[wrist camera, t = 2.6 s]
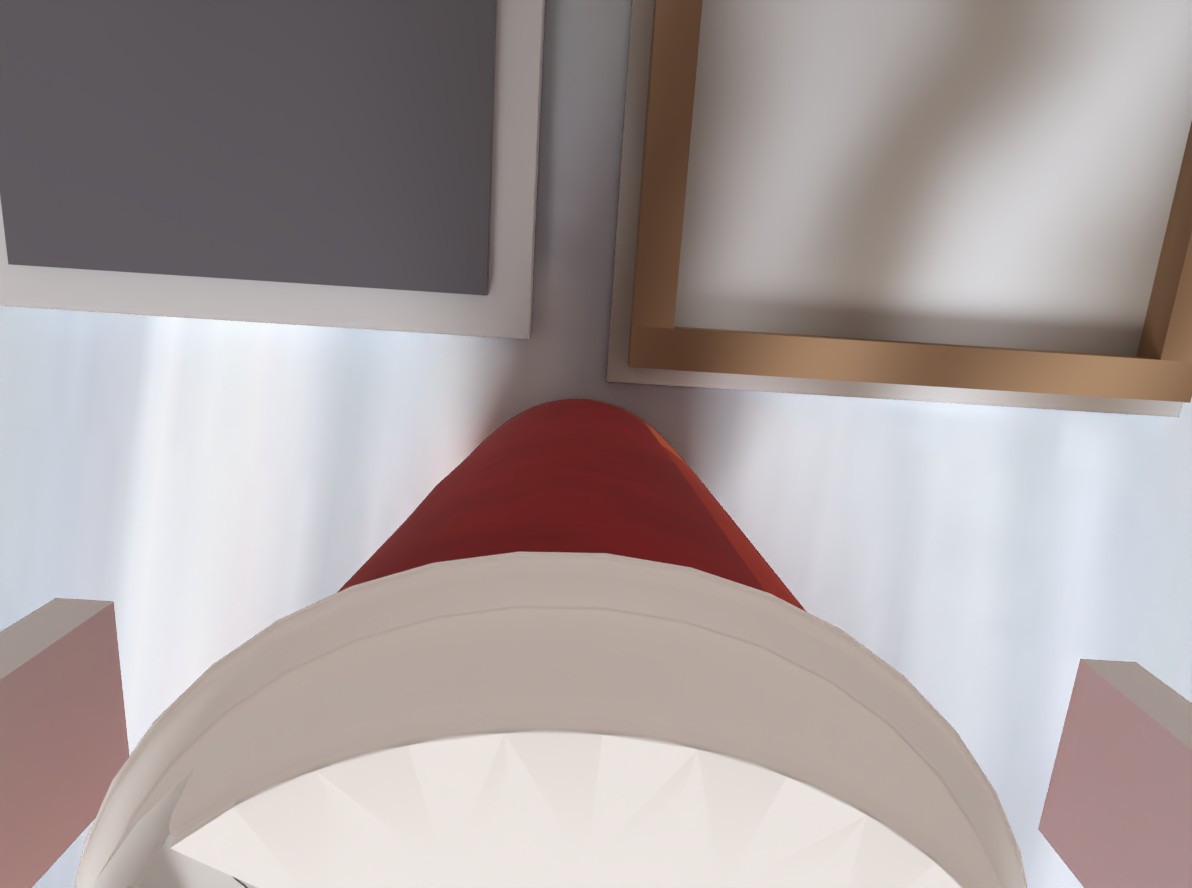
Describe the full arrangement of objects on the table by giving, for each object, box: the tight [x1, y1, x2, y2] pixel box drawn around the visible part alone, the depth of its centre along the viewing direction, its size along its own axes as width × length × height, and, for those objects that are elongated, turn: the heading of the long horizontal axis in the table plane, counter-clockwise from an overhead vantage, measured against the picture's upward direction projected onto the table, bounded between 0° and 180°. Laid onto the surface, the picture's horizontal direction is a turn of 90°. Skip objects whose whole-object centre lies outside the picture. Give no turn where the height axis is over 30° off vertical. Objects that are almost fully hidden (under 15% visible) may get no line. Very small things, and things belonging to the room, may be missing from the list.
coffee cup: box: [74, 399, 1027, 888], centre depth 12 cm, size 8×8×15 cm
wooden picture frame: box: [606, 0, 1192, 417], centre depth 17 cm, size 15×15×1 cm
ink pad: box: [0, 0, 545, 339], centre depth 16 cm, size 13×13×1 cm
